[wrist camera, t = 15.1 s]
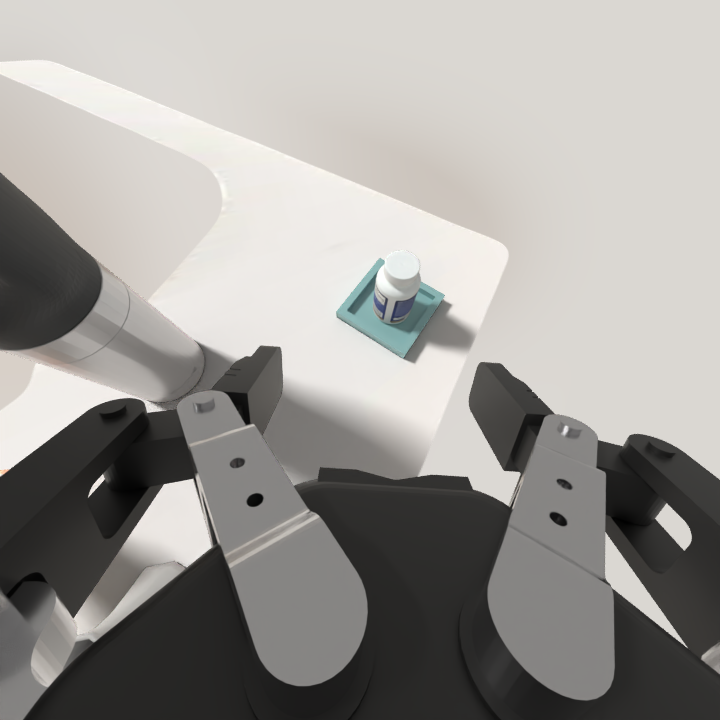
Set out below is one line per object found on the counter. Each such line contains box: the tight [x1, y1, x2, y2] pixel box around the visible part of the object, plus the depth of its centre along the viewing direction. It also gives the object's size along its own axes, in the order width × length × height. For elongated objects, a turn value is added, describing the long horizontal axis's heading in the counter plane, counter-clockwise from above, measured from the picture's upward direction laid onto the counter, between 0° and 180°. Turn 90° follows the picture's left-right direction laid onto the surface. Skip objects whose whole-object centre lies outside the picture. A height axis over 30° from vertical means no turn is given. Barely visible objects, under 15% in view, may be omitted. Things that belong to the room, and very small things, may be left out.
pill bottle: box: [373, 250, 421, 324], centre depth 37 cm, size 5×5×10 cm
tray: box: [336, 258, 445, 358], centre depth 42 cm, size 11×11×2 cm
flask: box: [63, 561, 186, 670], centre depth 25 cm, size 7×7×10 cm
